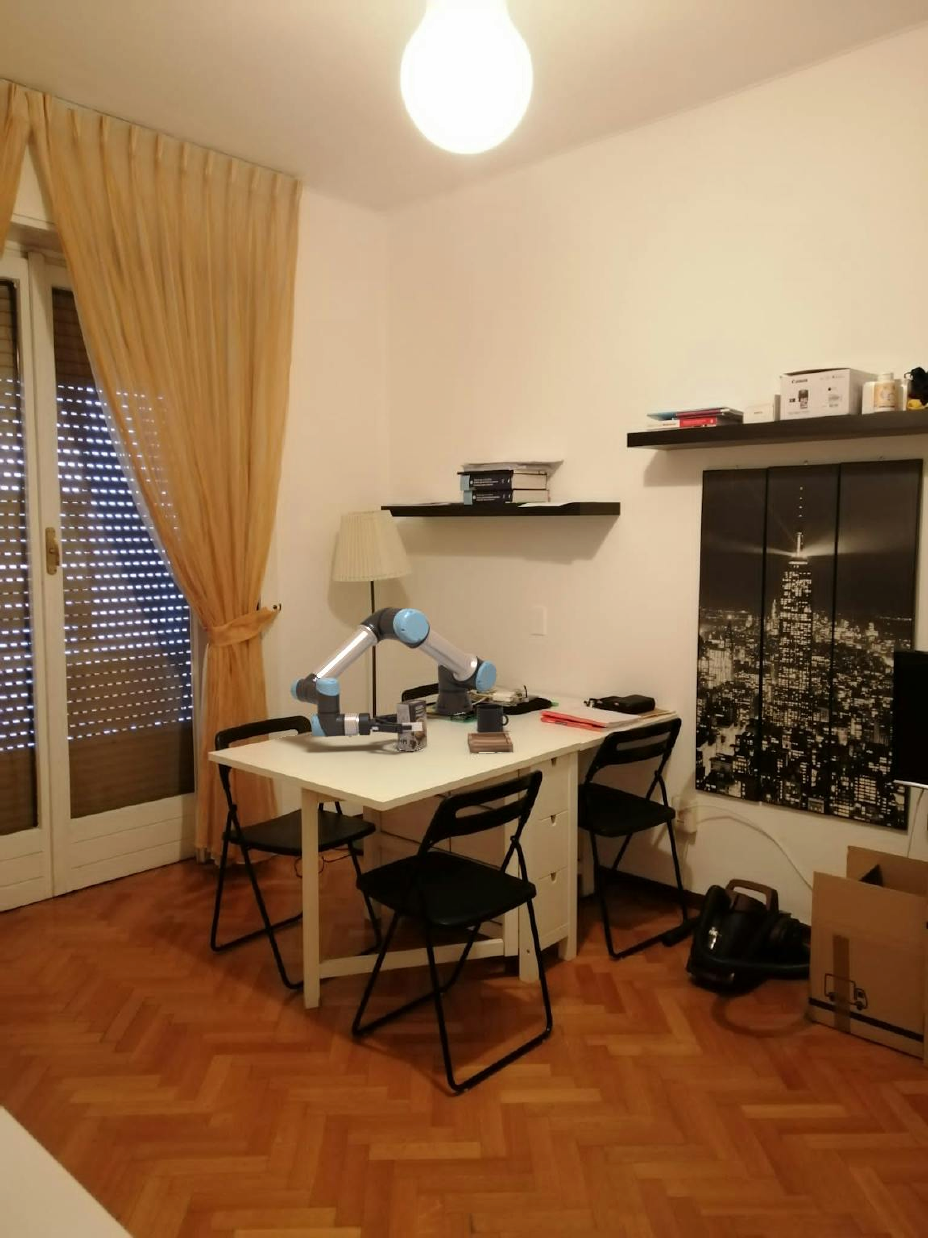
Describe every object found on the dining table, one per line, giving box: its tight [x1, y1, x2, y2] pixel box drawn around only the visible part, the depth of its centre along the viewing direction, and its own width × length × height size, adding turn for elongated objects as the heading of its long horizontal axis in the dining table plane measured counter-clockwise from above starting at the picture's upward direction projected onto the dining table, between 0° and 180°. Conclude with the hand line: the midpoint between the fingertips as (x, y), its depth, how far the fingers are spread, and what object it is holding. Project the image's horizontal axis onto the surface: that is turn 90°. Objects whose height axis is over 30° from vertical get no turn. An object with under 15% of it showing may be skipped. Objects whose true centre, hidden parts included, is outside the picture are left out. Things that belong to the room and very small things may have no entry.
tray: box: [467, 731, 514, 754], centre depth 307 cm, size 18×14×3 cm
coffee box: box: [396, 698, 428, 752], centre depth 306 cm, size 9×6×16 cm
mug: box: [476, 703, 510, 733], centre depth 327 cm, size 9×12×9 cm
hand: (422, 722), depth 306 cm, fingers open, 12 cm apart
